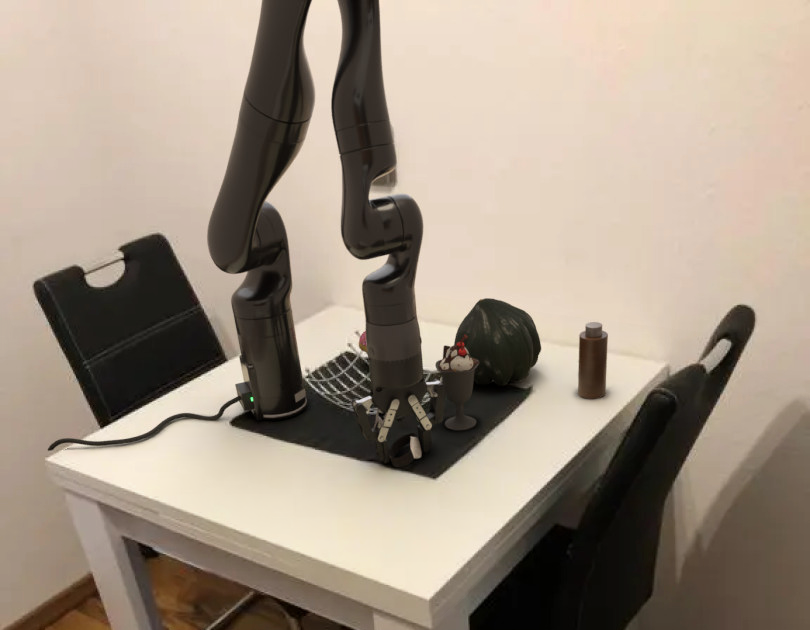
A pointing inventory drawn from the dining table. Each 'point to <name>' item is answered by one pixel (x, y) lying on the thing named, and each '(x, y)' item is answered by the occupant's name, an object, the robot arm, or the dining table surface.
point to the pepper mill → (592, 361)
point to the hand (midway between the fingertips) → (404, 455)
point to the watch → (412, 454)
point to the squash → (499, 341)
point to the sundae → (458, 382)
